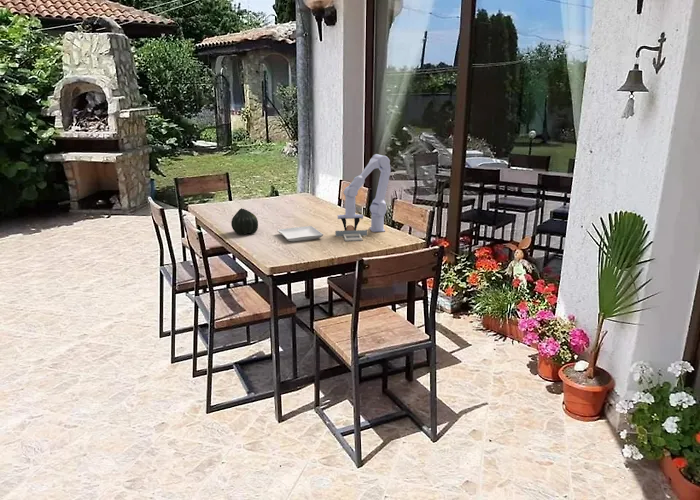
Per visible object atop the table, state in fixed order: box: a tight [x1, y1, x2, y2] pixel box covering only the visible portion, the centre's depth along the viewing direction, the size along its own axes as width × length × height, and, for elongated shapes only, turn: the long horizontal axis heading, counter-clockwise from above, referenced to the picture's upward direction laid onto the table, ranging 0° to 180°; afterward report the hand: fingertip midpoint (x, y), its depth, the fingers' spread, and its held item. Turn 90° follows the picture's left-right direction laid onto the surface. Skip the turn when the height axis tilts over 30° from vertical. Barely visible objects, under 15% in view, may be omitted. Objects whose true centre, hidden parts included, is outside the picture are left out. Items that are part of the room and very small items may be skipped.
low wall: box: [335, 229, 368, 237], centre depth 304 cm, size 1×18×3 cm, turn 97°
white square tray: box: [342, 234, 364, 242], centre depth 299 cm, size 10×10×2 cm
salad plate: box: [276, 225, 324, 242], centre depth 302 cm, size 21×21×3 cm
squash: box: [230, 208, 259, 236], centre depth 307 cm, size 14×15×15 cm
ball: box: [346, 224, 355, 231], centre depth 309 cm, size 5×5×5 cm
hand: (350, 230), depth 309 cm, fingers closed on ball, 5 cm apart
